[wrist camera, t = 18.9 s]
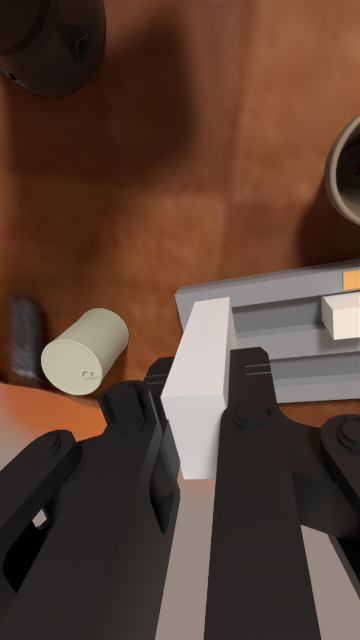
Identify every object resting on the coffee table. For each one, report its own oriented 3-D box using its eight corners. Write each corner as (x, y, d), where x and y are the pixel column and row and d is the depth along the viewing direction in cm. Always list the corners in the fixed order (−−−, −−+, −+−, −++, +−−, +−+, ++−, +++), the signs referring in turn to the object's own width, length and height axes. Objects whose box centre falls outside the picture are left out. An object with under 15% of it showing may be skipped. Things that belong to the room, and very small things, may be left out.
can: (127, 360, 55) (100, 403, 44) (78, 349, 55) (40, 390, 45) (130, 313, 51) (102, 348, 40) (78, 303, 52) (36, 334, 41)
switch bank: (179, 286, 47) (174, 295, 43) (399, 251, 40) (416, 258, 36) (203, 392, 55) (200, 408, 51) (392, 379, 47) (406, 396, 44)
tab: (320, 293, 42) (332, 310, 36) (360, 288, 41) (379, 304, 35) (321, 320, 43) (333, 339, 38) (360, 315, 42) (378, 335, 37)
